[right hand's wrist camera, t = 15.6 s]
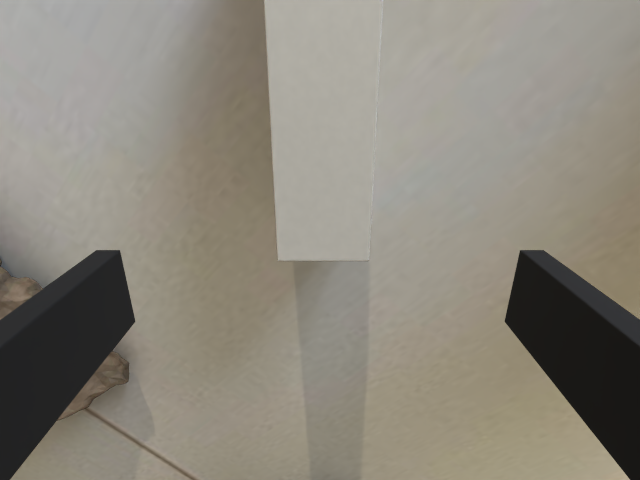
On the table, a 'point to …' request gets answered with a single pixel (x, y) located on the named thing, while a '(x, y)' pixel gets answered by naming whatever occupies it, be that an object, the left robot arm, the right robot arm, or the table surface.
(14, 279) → the stone
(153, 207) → the table surface
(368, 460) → the table surface
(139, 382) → the table surface
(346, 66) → the bar
